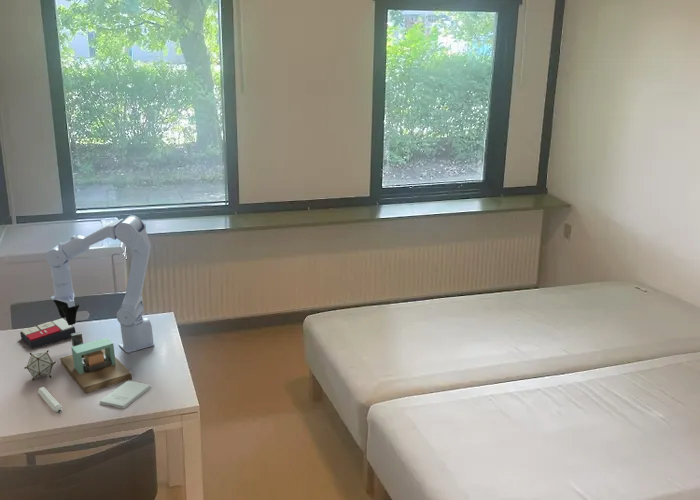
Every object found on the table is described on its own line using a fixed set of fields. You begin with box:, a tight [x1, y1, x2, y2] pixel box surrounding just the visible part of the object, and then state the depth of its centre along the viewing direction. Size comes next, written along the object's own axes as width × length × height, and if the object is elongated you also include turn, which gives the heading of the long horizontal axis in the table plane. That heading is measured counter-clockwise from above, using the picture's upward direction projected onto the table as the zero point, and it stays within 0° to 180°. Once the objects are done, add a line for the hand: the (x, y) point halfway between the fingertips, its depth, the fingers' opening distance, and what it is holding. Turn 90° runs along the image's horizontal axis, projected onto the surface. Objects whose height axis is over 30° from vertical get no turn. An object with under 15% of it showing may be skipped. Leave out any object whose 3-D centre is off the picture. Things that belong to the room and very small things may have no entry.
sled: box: [70, 331, 111, 372], centre depth 214 cm, size 7×22×4 cm, turn 38°
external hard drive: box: [99, 380, 151, 409], centre depth 195 cm, size 2×8×12 cm
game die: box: [23, 349, 57, 381], centre depth 205 cm, size 9×8×10 cm
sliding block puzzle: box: [19, 317, 77, 350], centre depth 233 cm, size 11×4×15 cm
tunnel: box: [71, 337, 116, 374], centre depth 208 cm, size 11×6×7 cm, turn 128°
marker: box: [37, 386, 63, 414], centre depth 191 cm, size 3×2×16 cm
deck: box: [60, 349, 133, 394], centre depth 209 cm, size 14×24×2 cm, turn 38°
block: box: [84, 350, 104, 366], centre depth 208 cm, size 4×4×4 cm
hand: (68, 320), depth 223 cm, fingers open, 7 cm apart
